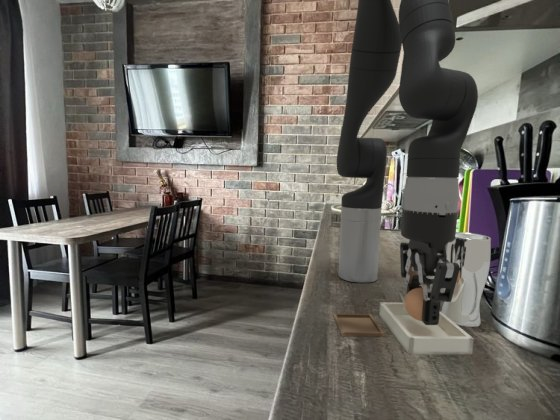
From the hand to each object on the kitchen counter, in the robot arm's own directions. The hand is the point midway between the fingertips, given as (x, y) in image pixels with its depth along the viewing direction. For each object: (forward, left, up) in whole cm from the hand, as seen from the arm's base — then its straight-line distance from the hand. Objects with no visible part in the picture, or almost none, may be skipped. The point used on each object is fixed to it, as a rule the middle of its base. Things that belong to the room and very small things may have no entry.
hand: (421, 315), depth 49 cm
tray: (0, 0, -3) cm, 3 cm away
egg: (0, 0, -1) cm, 1 cm away
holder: (-2, -9, -3) cm, 10 cm away
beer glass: (-5, +10, -3) cm, 11 cm away
